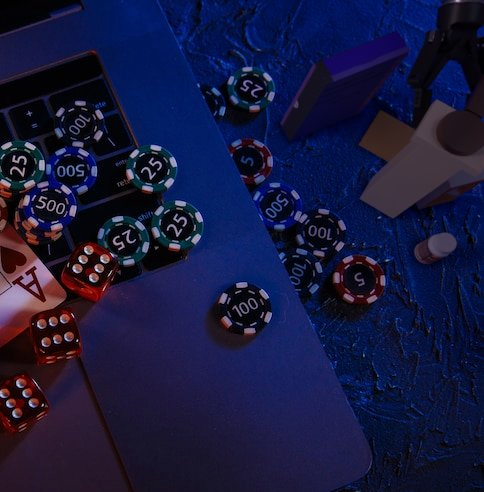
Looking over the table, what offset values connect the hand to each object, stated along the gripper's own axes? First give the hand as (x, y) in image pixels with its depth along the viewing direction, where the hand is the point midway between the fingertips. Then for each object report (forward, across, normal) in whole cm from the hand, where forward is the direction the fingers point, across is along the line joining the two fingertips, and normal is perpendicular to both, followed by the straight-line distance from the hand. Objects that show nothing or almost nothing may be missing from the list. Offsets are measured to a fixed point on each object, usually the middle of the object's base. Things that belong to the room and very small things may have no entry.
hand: (445, 129), depth 111 cm
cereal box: (-1, +1, -30) cm, 30 cm away
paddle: (-3, +3, +7) cm, 8 cm away
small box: (+13, -16, -13) cm, 24 cm away
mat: (+3, -12, -20) cm, 24 cm away
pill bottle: (+25, -11, -8) cm, 29 cm away
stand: (+15, -6, -16) cm, 23 cm away
